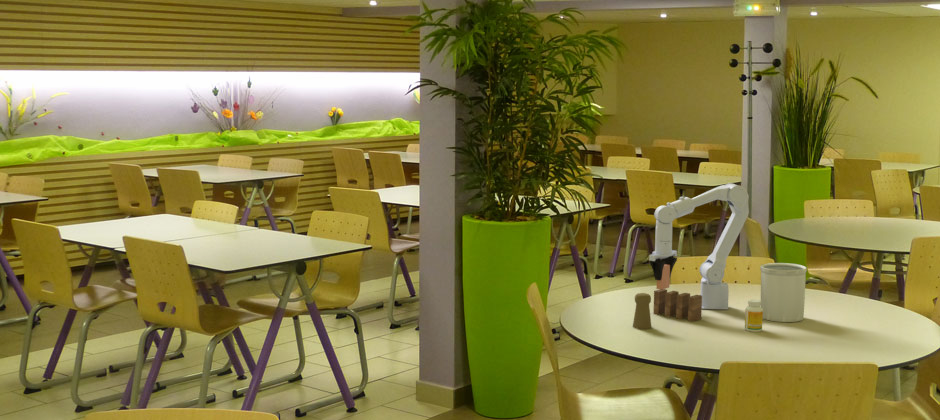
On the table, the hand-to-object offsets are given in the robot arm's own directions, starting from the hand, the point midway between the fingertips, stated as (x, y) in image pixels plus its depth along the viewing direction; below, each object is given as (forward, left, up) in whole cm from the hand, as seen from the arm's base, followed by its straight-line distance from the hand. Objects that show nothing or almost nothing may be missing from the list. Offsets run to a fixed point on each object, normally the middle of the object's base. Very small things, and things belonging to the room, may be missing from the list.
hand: (662, 278), depth 345 cm
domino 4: (-5, +15, -10) cm, 19 cm away
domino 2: (+2, +9, -10) cm, 14 cm away
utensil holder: (-38, +12, -10) cm, 41 cm away
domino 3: (-2, +12, -10) cm, 16 cm away
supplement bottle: (-25, +30, -10) cm, 41 cm away
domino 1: (0, 0, -3) cm, 3 cm away
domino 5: (-9, +18, -10) cm, 22 cm away
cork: (+10, +29, -10) cm, 33 cm away
